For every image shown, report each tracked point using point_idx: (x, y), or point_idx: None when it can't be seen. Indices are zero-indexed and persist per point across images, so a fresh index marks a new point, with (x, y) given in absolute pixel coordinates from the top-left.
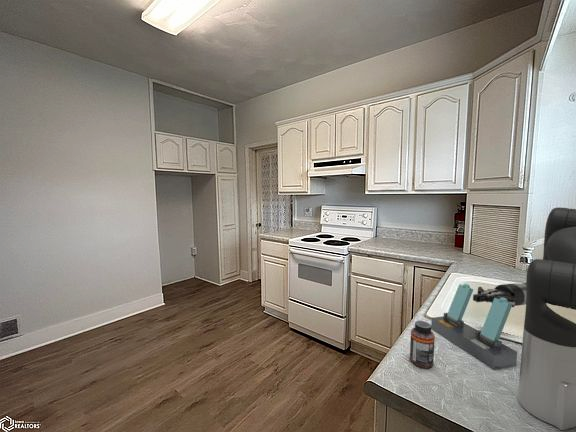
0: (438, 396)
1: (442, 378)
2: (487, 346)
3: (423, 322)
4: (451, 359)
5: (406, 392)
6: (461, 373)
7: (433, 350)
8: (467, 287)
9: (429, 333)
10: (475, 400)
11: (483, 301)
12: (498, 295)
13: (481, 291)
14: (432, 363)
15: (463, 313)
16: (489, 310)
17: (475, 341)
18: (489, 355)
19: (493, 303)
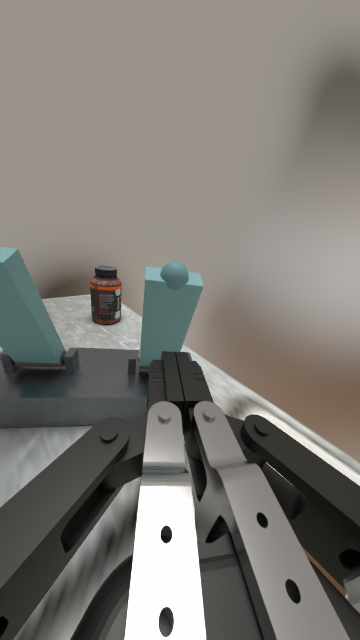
0: (59, 305)
1: (72, 318)
2: None
3: (108, 268)
4: (89, 342)
5: (81, 298)
6: (61, 333)
7: (91, 299)
8: (158, 268)
9: (95, 276)
10: None
11: (147, 398)
12: (126, 590)
13: (255, 438)
14: (92, 315)
15: (140, 348)
16: (40, 298)
17: (68, 349)
18: None
19: (23, 272)
